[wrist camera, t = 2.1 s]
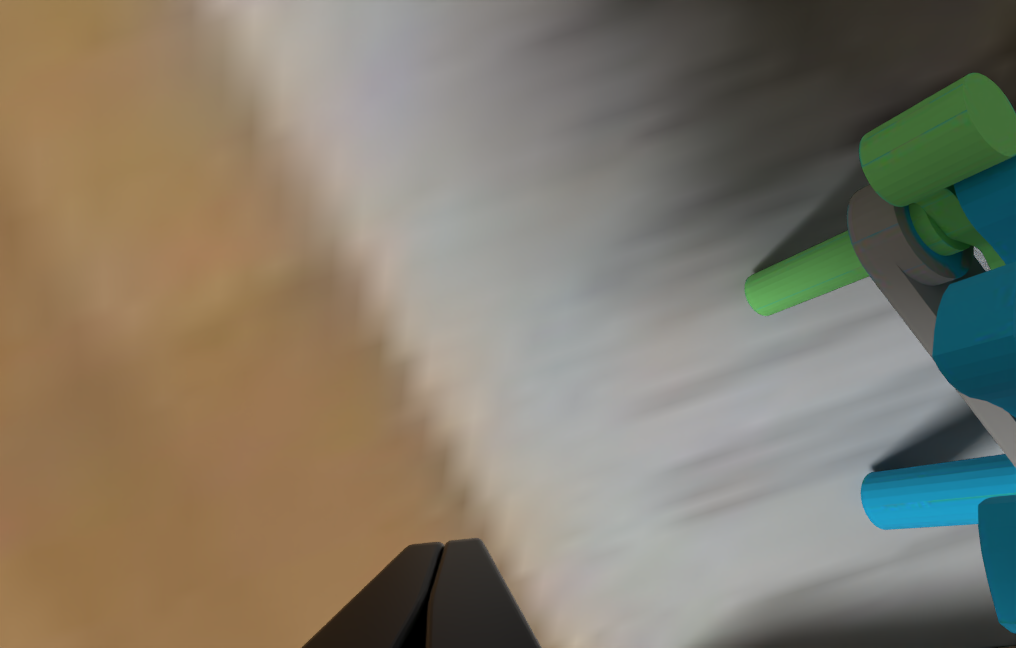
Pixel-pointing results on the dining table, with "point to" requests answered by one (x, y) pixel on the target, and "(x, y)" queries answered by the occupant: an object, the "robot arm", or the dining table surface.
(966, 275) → the gear
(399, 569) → the robot arm
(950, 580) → the dining table surface
